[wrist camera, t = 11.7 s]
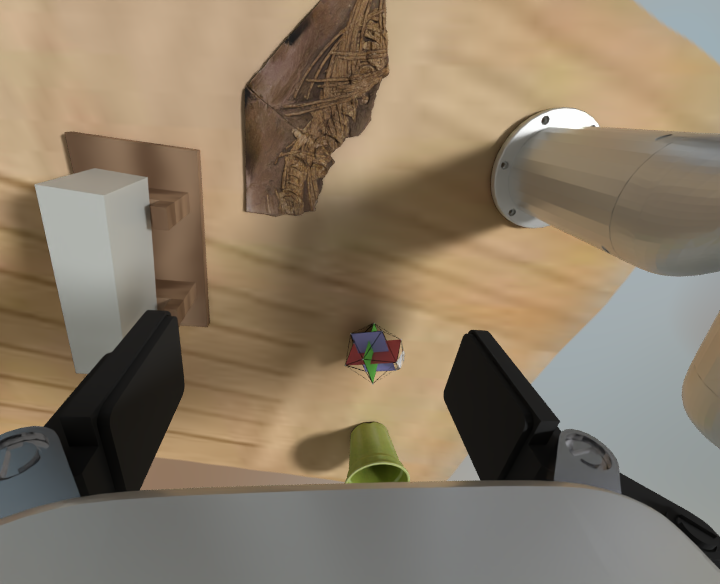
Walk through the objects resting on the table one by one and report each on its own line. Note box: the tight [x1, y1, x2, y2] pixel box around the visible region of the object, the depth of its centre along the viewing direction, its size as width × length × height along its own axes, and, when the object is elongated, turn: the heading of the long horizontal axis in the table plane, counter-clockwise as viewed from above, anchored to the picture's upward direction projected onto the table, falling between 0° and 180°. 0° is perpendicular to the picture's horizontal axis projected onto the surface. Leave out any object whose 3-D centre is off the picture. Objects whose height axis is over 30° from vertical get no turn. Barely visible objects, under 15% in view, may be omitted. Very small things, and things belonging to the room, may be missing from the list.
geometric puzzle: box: [345, 323, 404, 384], centre depth 43 cm, size 7×7×8 cm
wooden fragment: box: [245, 0, 389, 217], centre depth 32 cm, size 26×11×1 cm, turn 146°
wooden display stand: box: [65, 132, 210, 327], centre depth 33 cm, size 11×20×7 cm, turn 171°
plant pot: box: [345, 422, 410, 483], centre depth 52 cm, size 9×9×9 cm
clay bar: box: [35, 168, 157, 374], centre depth 29 cm, size 4×16×7 cm, turn 168°
